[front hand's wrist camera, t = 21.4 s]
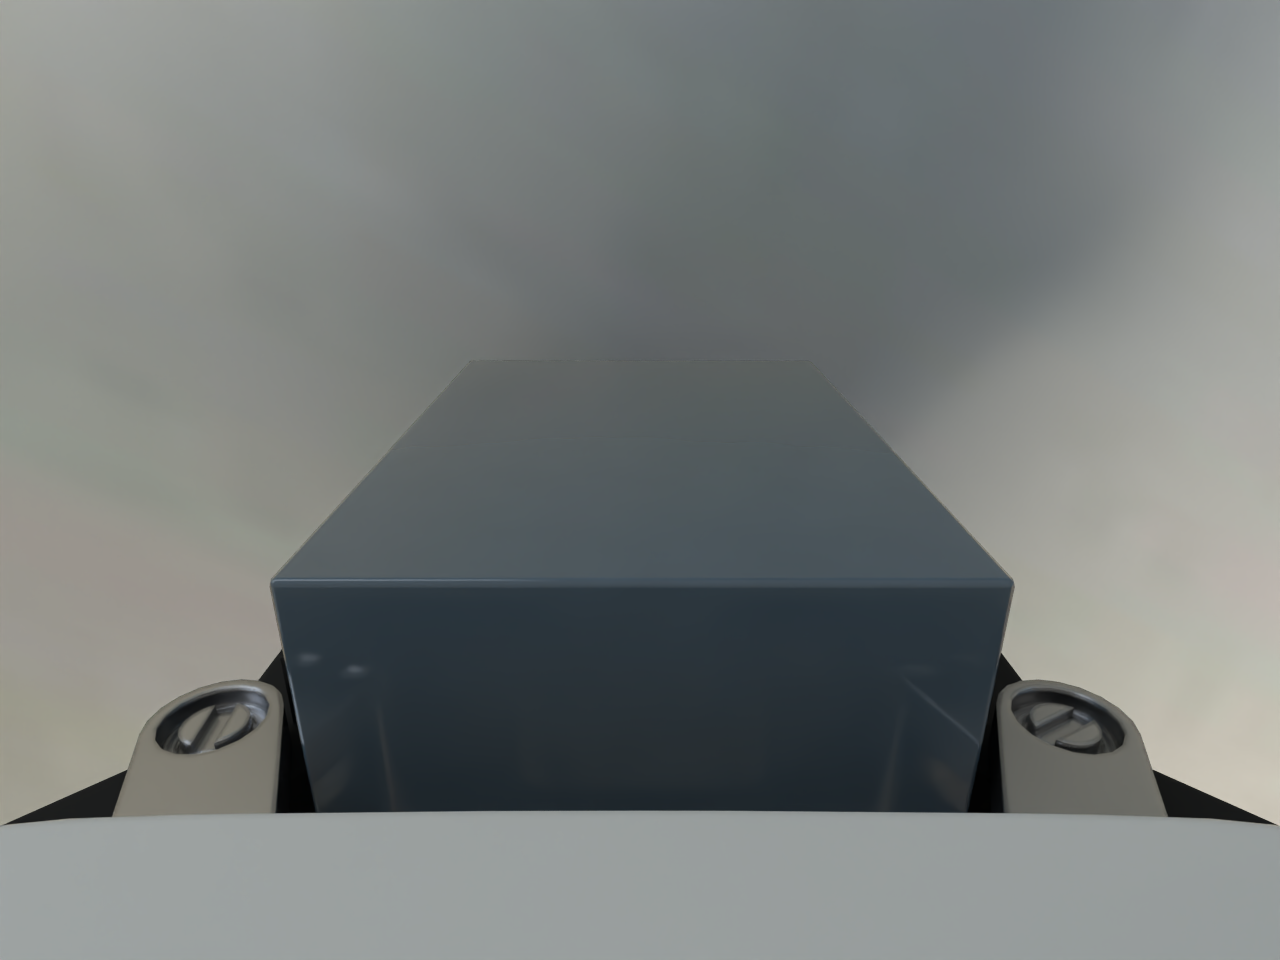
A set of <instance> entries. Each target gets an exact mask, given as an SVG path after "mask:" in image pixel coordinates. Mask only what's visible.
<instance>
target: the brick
mask: <svg viewBox="0 0 1280 960" xmlns="http://www.w3.org/2000/svg"><path fill="white" fill-rule="evenodd" d="M270 590H271V595H272V600H273V605H274V610H275V615H276V620H277V625H278V630H279V635H280V640H281V645H282V650H283V655H284V660H285V665H286V670H287V675H288V680H289V685H290V690H291V695H292V700H293V705H294V710H295V715H296V720H297V725H298V730H299V735H300V740H301V745H302V750H303V755H304V760H305V765H306V770H307V775H308V780H309V785H310V790H311V795H312V800H313V804H314V809H315V813H363V812H450V811H804V812H915V813H968V810H969V805H970V800H971V795H972V791H973V786H974V781H975V776H976V771H977V766H978V761H979V757H980V752H981V747H982V742H983V737H984V732H985V728H986V723H987V718H988V713H989V708H990V703H991V699H992V694H993V689H994V684H995V679H996V674H997V670H998V665H999V660H1000V655H1001V650H1002V645H1003V641H1004V636H1005V631H1006V626H1007V621H1008V616H1009V611H1010V607H1011V602H1012V597H1013V592H1014V582H1013V579H1012V578H1011V577H1010V575H1009V574H1008V573H1007V572H1006V571H1005V570H1004V569H1003V568H1002V567H1001V566H1000V565H999V564H998V563H997V561H996V560H995V559H994V558H993V557H992V556H991V555H990V554H989V553H988V552H987V551H986V550H985V549H984V547H983V546H982V545H981V544H980V543H979V542H978V541H977V540H976V539H975V538H974V537H973V536H972V535H971V533H970V532H969V531H968V530H967V529H966V528H965V527H964V526H963V525H962V524H961V523H960V522H959V521H958V519H957V518H956V517H955V516H954V515H953V514H952V513H951V512H950V511H949V510H948V509H947V508H946V507H945V506H944V504H943V503H942V502H941V501H940V500H939V499H938V498H937V497H936V496H935V495H934V494H933V493H932V492H931V490H930V489H929V488H928V487H927V486H926V485H925V484H924V483H923V482H922V481H921V480H920V479H919V478H918V476H917V475H916V474H915V473H914V472H913V471H912V470H911V469H910V468H909V467H908V466H907V465H906V464H905V462H904V461H903V460H902V459H901V458H900V457H899V456H898V455H897V454H896V453H895V452H894V451H893V450H892V448H891V447H890V446H889V445H888V444H887V443H886V442H885V441H884V440H883V439H882V438H881V437H880V436H879V434H878V433H877V432H876V431H875V430H874V429H873V428H872V427H871V426H870V425H869V424H868V423H867V422H866V420H865V419H864V418H863V417H862V416H861V415H860V414H859V413H858V412H857V411H856V410H855V409H854V408H853V406H852V405H851V404H850V403H849V402H848V401H847V400H846V399H845V398H844V397H843V396H842V395H841V394H840V393H839V391H838V390H837V389H836V388H835V387H834V386H833V385H832V384H831V383H830V382H829V381H828V380H827V379H826V377H825V376H824V375H823V374H822V373H821V372H820V371H819V370H818V369H817V368H816V367H815V366H814V365H813V363H812V362H810V361H537V360H472V361H470V362H469V363H468V364H467V365H466V366H465V368H464V369H463V370H462V371H461V372H460V373H459V374H458V375H457V376H456V377H455V378H454V380H453V381H452V382H451V383H450V384H449V385H448V386H447V387H446V388H445V389H444V390H443V392H442V393H441V394H440V395H439V396H438V397H437V398H436V399H435V400H434V401H433V402H432V404H431V405H430V406H429V407H428V408H427V409H426V410H425V411H424V412H423V413H422V414H421V416H420V417H419V418H418V419H417V420H416V421H415V422H414V423H413V424H412V425H411V427H410V428H409V429H408V430H407V431H406V432H405V433H404V434H403V435H402V436H401V437H400V439H399V440H398V441H397V442H396V443H395V444H394V445H393V446H392V447H391V448H390V449H389V451H388V452H387V453H386V454H385V455H384V456H383V457H382V458H381V459H380V460H379V461H378V463H377V464H376V465H375V466H374V467H373V468H372V469H371V470H370V471H369V472H368V473H367V475H366V476H365V477H364V478H363V479H362V480H361V481H360V482H359V483H358V484H357V486H356V487H355V488H354V489H353V490H352V491H351V492H350V493H349V494H348V495H347V496H346V498H345V499H344V500H343V501H342V502H341V503H340V504H339V505H338V506H337V507H336V508H335V510H334V511H333V512H332V513H331V514H330V515H329V516H328V517H327V518H326V519H325V520H324V522H323V523H322V524H321V525H320V526H319V527H318V528H317V529H316V530H315V531H314V532H313V534H312V535H311V536H310V537H309V538H308V539H307V540H306V541H305V542H304V543H303V545H302V546H301V547H300V548H299V549H298V550H297V551H296V552H295V553H294V554H293V555H292V557H291V558H290V559H289V560H288V561H287V562H286V563H285V564H284V565H283V566H282V567H281V569H280V570H279V571H278V572H277V573H276V574H275V575H274V576H273V577H272V578H271V582H270Z"/></svg>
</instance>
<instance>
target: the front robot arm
mask: <svg viewBox="0 0 1280 960" xmlns="http://www.w3.org/2000/svg"><path fill="white" fill-rule="evenodd" d="M0 960H1280V826H1278V825H1276V824H1274V823H1272V822H1269V821H1267V820H1265V819H1263V818H1260V817H1258V816H1256V815H1254V814H1251V813H1249V812H1247V811H1245V810H1242V809H1240V808H1238V807H1236V806H1233V805H1231V804H1229V803H1227V802H1224V801H1222V800H1220V799H1218V798H1215V797H1213V796H1211V795H1209V794H1206V793H1204V792H1202V791H1200V790H1197V789H1195V788H1193V787H1191V786H1188V785H1186V784H1184V783H1182V782H1179V781H1177V780H1175V779H1173V778H1170V777H1168V776H1166V775H1164V774H1161V773H1159V772H1157V771H1155V770H1152V767H1151V764H1150V761H1149V758H1148V755H1147V752H1146V749H1145V746H1144V743H1143V740H1142V737H1141V734H1140V733H1139V731H1138V729H1137V727H1136V726H1135V724H1134V722H1133V721H1132V720H1131V719H1130V718H1129V717H1128V716H1127V715H1126V714H1125V713H1124V712H1123V711H1122V710H1120V709H1119V708H1118V707H1116V706H1115V705H1113V704H1112V703H1110V702H1108V701H1107V700H1105V699H1104V698H1102V697H1100V696H1098V695H1096V694H1093V693H1091V692H1089V691H1086V690H1084V689H1082V688H1079V687H1075V686H1072V685H1068V684H1064V683H1061V682H1055V681H1046V680H1025V681H1022V680H1021V678H1020V677H1019V676H1018V674H1017V673H1016V672H1015V670H1014V669H1013V668H1012V666H1011V665H1010V664H1009V663H1008V661H1007V660H1006V659H1005V657H1004V656H1003V655H1002V653H1001V655H1000V660H999V665H998V670H997V674H996V679H995V684H994V689H993V694H992V699H991V703H990V708H989V713H988V718H987V723H986V728H985V732H984V737H983V742H982V747H981V752H980V757H979V761H978V766H977V771H976V776H975V781H974V786H973V791H972V795H971V800H970V805H969V810H968V813H915V812H804V811H450V812H363V813H315V809H314V804H313V800H312V795H311V790H310V785H309V780H308V775H307V770H306V765H305V760H304V755H303V750H302V745H301V740H300V735H299V730H298V725H297V720H296V715H295V710H294V705H293V700H292V695H291V690H290V685H289V680H288V675H287V670H286V665H285V660H284V655H283V650H281V651H280V653H279V654H278V655H277V657H276V658H275V659H274V661H273V662H272V663H271V665H270V666H269V667H268V668H267V670H266V671H265V672H264V674H263V675H262V676H261V678H260V679H259V680H258V681H255V680H234V681H225V682H219V683H216V684H212V685H208V686H205V687H201V688H198V689H196V690H194V691H191V692H189V693H187V694H184V695H182V696H180V697H178V698H176V699H175V700H173V701H172V702H170V703H168V704H167V705H165V706H164V707H162V708H161V709H160V710H158V711H157V712H156V713H155V714H154V715H153V716H152V717H151V718H150V719H149V720H148V721H147V722H146V724H145V726H144V727H143V729H142V731H141V733H140V734H139V737H138V740H137V743H136V746H135V749H134V752H133V755H132V758H131V761H130V764H129V767H128V770H126V771H124V772H121V773H119V774H117V775H115V776H112V777H110V778H108V779H106V780H103V781H101V782H99V783H97V784H94V785H92V786H90V787H88V788H85V789H83V790H81V791H79V792H76V793H74V794H72V795H70V796H67V797H65V798H63V799H61V800H58V801H56V802H54V803H52V804H49V805H47V806H45V807H43V808H40V809H38V810H36V811H34V812H31V813H29V814H27V815H25V816H22V817H20V818H18V819H16V820H13V821H11V822H9V823H7V824H4V825H2V826H0Z"/></svg>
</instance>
